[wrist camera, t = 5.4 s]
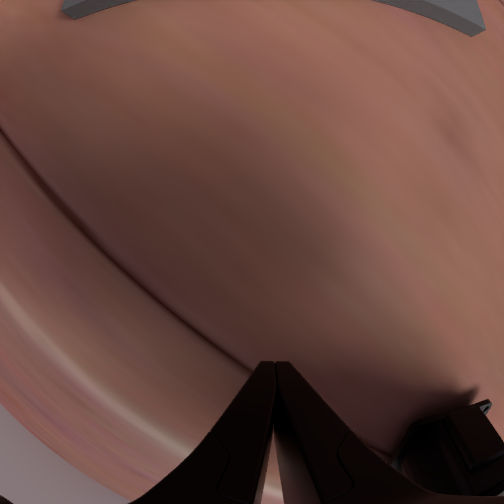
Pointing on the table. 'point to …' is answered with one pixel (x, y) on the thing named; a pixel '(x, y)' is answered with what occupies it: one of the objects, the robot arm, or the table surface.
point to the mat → (424, 3)
